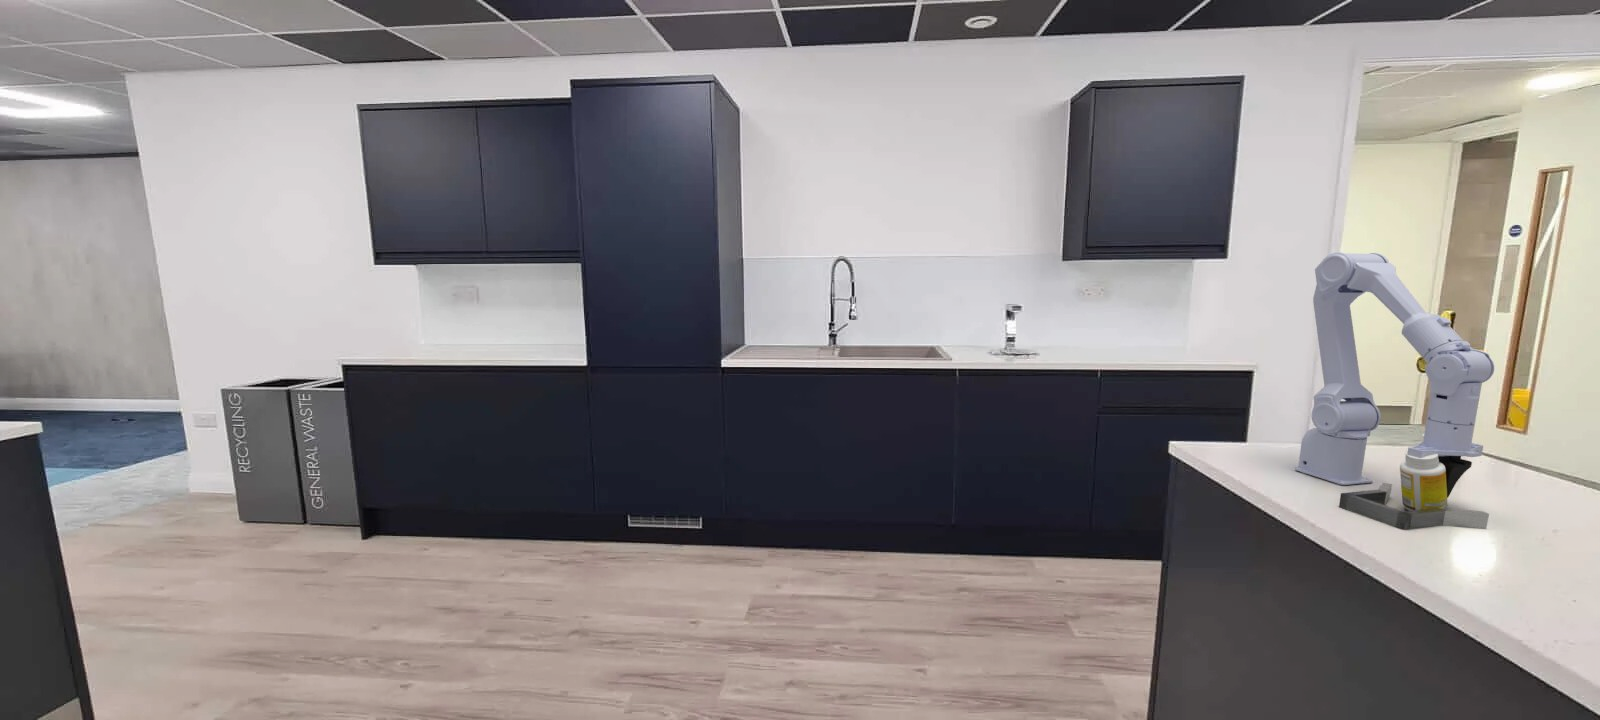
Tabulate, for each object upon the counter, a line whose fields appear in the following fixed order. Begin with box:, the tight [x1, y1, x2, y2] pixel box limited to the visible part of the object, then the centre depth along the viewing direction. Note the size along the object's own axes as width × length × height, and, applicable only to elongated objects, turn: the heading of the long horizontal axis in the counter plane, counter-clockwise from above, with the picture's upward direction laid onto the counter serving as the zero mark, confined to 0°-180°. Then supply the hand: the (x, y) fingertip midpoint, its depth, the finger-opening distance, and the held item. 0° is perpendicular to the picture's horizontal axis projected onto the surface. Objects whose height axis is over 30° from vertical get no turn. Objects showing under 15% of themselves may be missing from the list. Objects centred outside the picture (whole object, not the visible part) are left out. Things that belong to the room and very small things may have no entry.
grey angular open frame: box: [1338, 482, 1490, 531], centre depth 109 cm, size 15×14×2 cm
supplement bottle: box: [1399, 450, 1449, 511], centre depth 109 cm, size 6×6×10 cm
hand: (1437, 498), depth 110 cm, fingers closed
